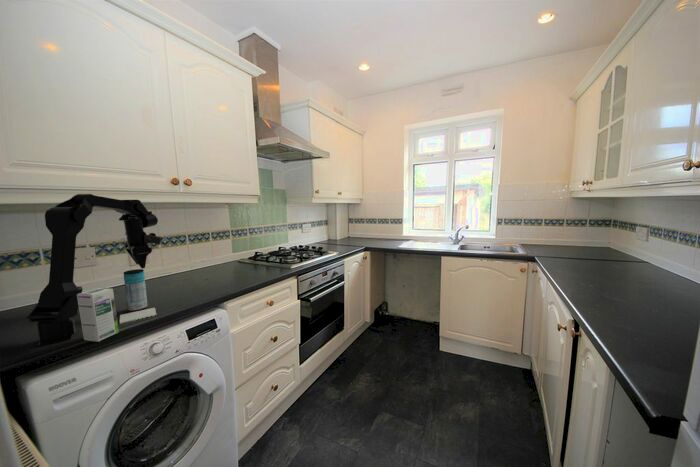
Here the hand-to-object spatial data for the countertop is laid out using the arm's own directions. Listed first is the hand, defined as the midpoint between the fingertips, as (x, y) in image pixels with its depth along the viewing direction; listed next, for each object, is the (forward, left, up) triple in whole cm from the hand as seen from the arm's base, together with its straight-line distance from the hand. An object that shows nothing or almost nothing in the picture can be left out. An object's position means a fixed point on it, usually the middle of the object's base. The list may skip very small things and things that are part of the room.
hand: (140, 266), depth 110 cm
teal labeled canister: (-2, -15, -14) cm, 20 cm away
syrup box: (-11, -34, -14) cm, 38 cm away
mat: (-2, -22, -14) cm, 26 cm away
